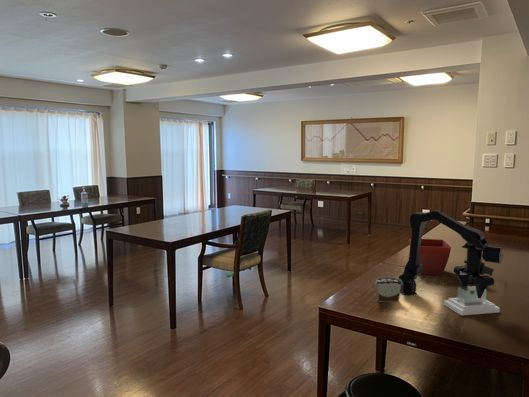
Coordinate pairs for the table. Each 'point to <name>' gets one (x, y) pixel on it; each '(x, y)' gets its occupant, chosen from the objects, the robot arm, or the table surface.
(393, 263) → the table surface
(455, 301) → the white rectangular tray
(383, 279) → the food container
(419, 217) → the robot arm
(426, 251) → the plant pot
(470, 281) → the supplement bottle
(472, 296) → the block
